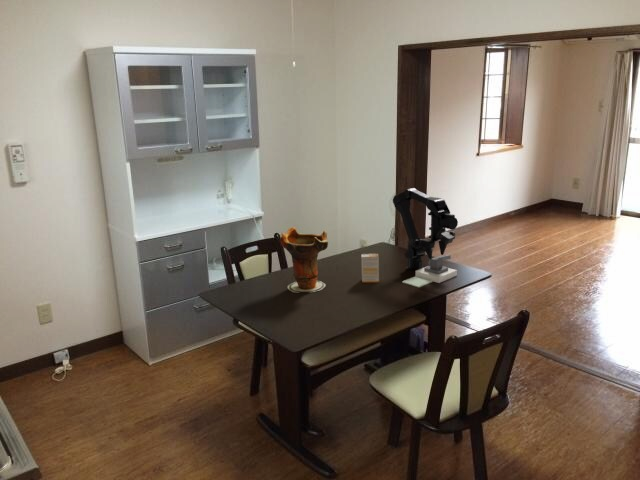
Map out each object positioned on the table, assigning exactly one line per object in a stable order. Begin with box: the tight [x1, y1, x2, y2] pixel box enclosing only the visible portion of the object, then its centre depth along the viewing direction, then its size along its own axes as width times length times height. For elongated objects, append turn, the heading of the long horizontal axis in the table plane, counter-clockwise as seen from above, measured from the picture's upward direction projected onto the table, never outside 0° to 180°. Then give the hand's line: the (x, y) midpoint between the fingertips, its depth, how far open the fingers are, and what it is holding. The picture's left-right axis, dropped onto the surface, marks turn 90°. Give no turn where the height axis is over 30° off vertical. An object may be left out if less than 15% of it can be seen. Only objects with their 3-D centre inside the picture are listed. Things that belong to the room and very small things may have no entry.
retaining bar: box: [427, 254, 452, 266], centre depth 270 cm, size 13×2×4 cm, turn 116°
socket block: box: [414, 265, 458, 284], centre depth 262 cm, size 14×14×3 cm
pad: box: [401, 276, 434, 289], centre depth 255 cm, size 10×10×1 cm
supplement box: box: [360, 253, 380, 283], centre depth 258 cm, size 8×5×13 cm, turn 84°
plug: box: [423, 256, 449, 274], centre depth 261 cm, size 8×8×9 cm
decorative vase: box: [279, 226, 329, 294], centre depth 253 cm, size 21×23×28 cm
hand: (436, 256), depth 260 cm, fingers open, 9 cm apart
